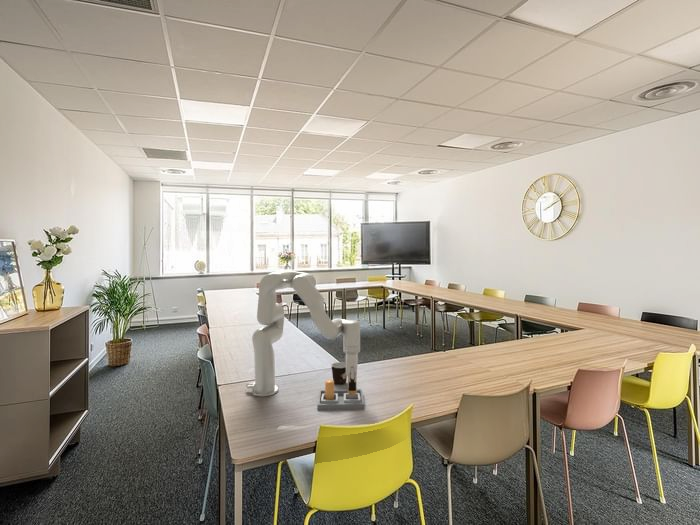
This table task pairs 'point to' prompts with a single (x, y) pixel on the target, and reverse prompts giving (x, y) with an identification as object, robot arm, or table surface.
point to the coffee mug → (339, 373)
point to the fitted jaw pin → (329, 390)
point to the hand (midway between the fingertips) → (352, 388)
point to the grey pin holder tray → (341, 400)
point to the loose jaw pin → (356, 386)
